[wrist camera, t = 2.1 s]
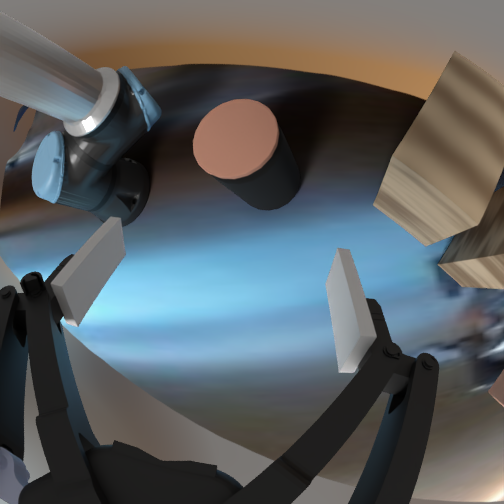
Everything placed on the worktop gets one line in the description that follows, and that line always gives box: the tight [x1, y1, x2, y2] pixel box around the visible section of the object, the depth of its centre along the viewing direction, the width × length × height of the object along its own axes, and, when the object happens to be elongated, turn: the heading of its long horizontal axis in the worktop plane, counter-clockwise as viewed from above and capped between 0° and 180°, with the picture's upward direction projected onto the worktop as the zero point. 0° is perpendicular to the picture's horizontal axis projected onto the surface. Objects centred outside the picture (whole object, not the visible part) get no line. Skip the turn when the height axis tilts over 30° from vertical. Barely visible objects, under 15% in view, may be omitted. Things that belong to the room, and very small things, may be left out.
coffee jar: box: [193, 99, 300, 210], centre depth 40 cm, size 11×11×18 cm
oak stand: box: [373, 51, 504, 289], centre depth 25 cm, size 21×20×30 cm
